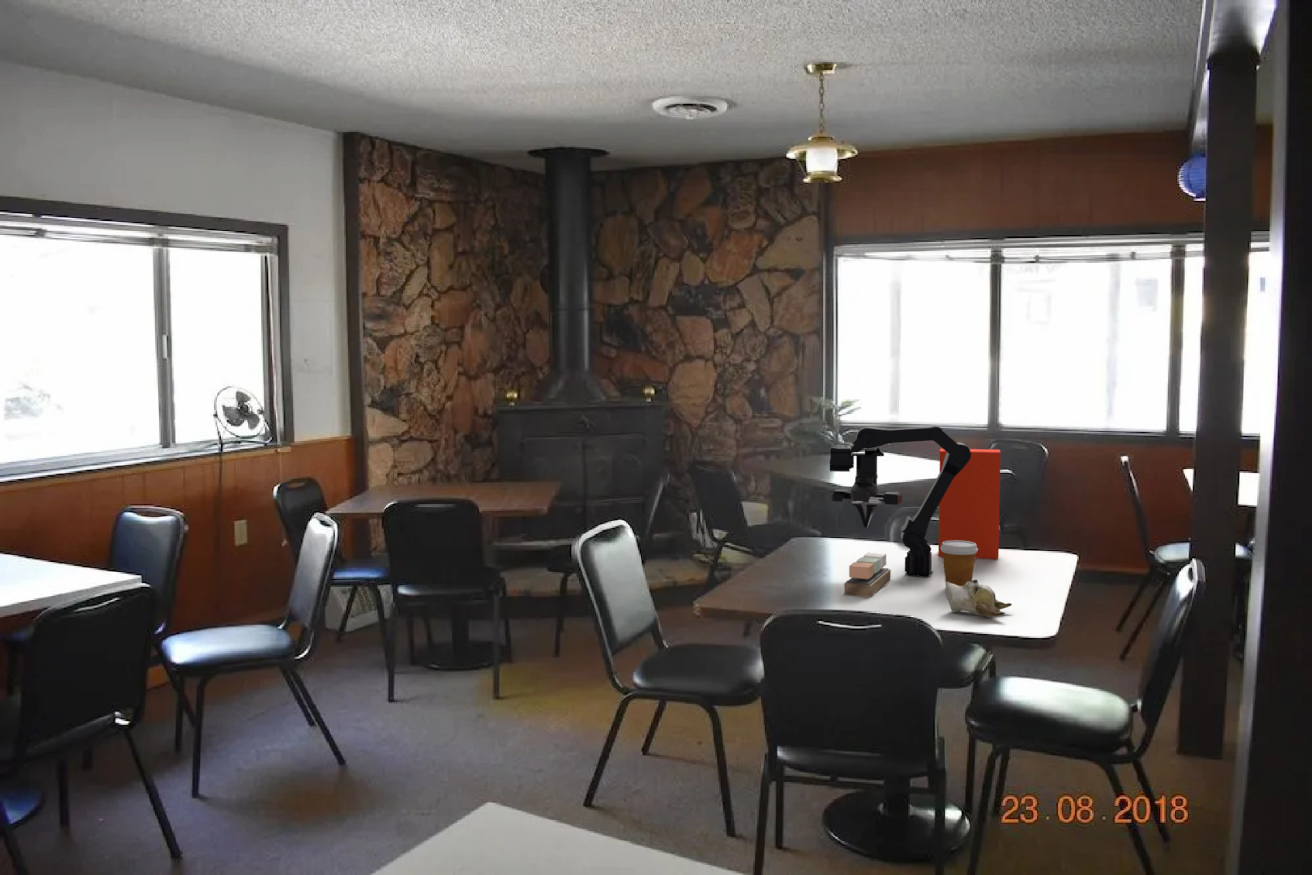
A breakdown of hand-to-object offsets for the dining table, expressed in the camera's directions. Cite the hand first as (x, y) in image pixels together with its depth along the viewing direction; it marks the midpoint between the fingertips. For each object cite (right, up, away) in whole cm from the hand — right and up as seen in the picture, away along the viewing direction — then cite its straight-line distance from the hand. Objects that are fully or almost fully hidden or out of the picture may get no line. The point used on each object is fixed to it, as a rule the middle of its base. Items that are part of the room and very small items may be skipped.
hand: (866, 527), depth 301 cm
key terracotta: (-6, -11, -23) cm, 26 cm away
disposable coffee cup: (+21, -15, -18) cm, 31 cm away
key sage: (-3, -10, -17) cm, 20 cm away
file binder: (+35, -11, +24) cm, 44 cm away
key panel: (-3, -15, -16) cm, 22 cm away
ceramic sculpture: (+18, -17, -45) cm, 51 cm away
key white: (0, -10, -10) cm, 14 cm away
